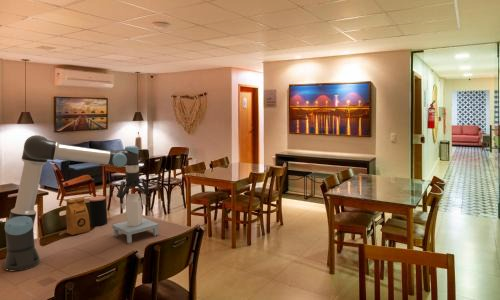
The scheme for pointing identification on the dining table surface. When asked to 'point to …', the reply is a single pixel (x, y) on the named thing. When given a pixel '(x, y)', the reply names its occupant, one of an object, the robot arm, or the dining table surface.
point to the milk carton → (133, 210)
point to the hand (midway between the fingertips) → (134, 206)
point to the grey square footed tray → (135, 228)
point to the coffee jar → (98, 211)
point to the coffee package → (77, 216)
